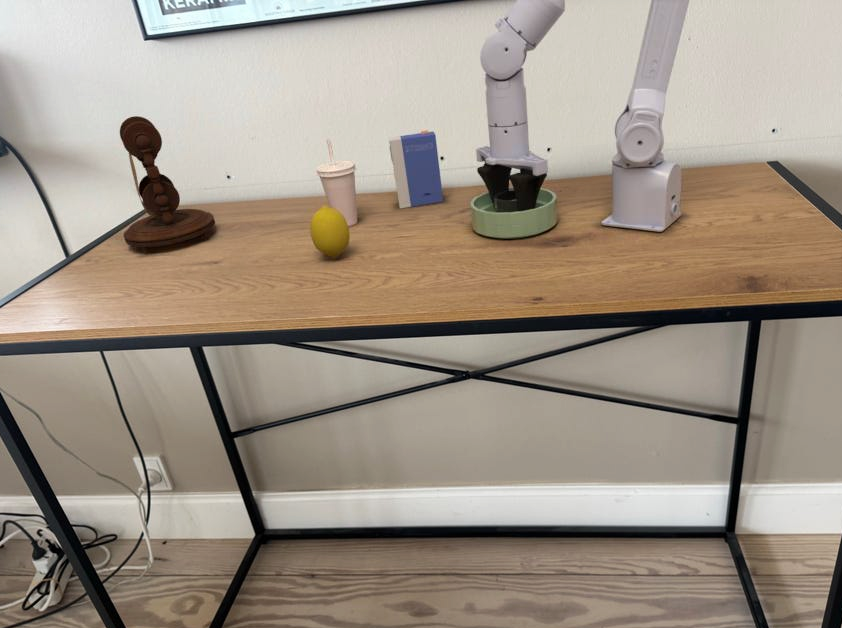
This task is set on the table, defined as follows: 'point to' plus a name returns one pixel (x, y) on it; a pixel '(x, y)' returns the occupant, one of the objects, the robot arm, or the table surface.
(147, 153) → the brown pulley stand
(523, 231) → the sage bowl
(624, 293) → the table surface
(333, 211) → the lemon
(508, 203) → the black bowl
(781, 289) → the table surface
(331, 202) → the smoothie
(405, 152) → the walkman
